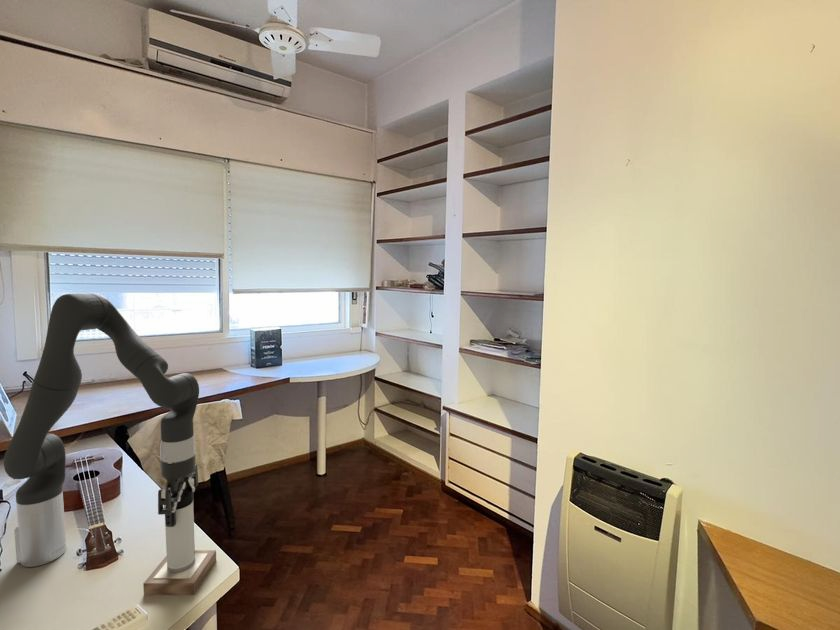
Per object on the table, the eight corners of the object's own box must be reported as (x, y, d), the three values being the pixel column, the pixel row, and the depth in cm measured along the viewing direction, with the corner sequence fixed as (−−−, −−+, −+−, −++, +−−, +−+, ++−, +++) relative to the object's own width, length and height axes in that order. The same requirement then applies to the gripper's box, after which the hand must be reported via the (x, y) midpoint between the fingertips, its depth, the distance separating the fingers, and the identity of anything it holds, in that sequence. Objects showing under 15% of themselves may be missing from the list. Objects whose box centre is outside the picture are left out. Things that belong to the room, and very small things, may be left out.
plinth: (143, 594, 101) (143, 582, 101) (171, 560, 113) (170, 549, 112) (194, 594, 101) (193, 582, 101) (216, 560, 113) (216, 549, 113)
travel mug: (201, 558, 109) (199, 485, 107) (181, 575, 103) (178, 499, 101) (182, 553, 111) (179, 482, 109) (161, 570, 105) (157, 495, 103)
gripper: (178, 442, 111) (180, 500, 112) (145, 467, 97) (147, 533, 98) (206, 443, 111) (208, 500, 113) (178, 467, 97) (180, 533, 98)
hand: (180, 515), depth 105 cm, fingers open, 8 cm apart
